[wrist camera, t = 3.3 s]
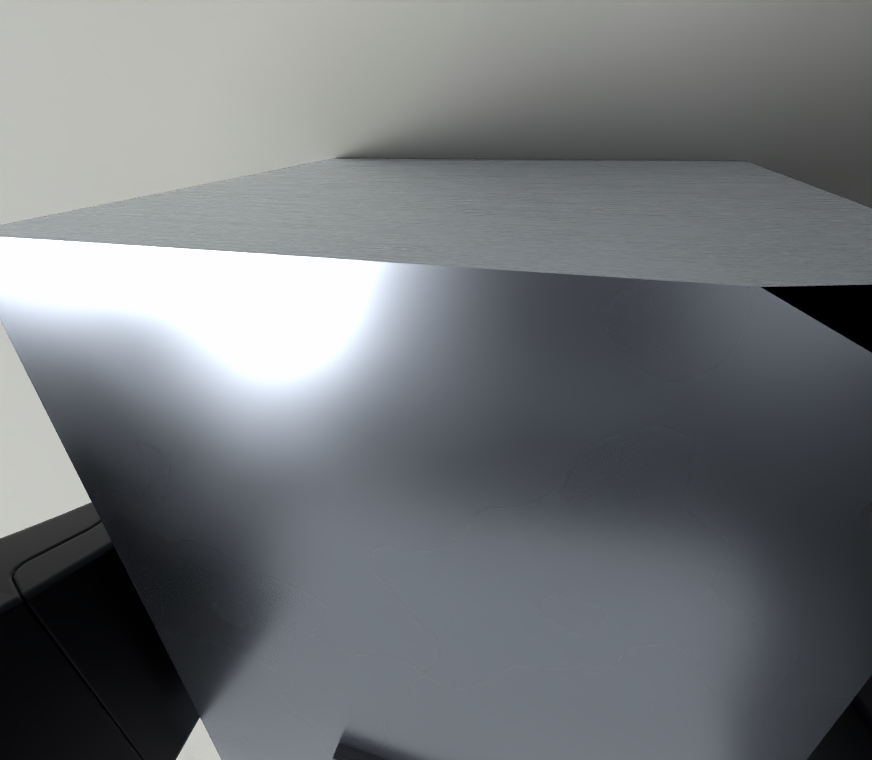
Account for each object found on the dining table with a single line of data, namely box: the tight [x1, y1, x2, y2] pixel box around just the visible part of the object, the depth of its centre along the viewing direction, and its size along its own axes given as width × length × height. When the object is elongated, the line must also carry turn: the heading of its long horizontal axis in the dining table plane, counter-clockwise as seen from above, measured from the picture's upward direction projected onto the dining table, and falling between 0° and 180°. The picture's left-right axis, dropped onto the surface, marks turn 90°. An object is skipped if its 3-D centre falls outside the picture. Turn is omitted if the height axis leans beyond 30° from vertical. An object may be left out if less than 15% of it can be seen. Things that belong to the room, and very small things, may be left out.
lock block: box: [0, 159, 872, 760], centre depth 7 cm, size 6×9×6 cm, turn 1°
